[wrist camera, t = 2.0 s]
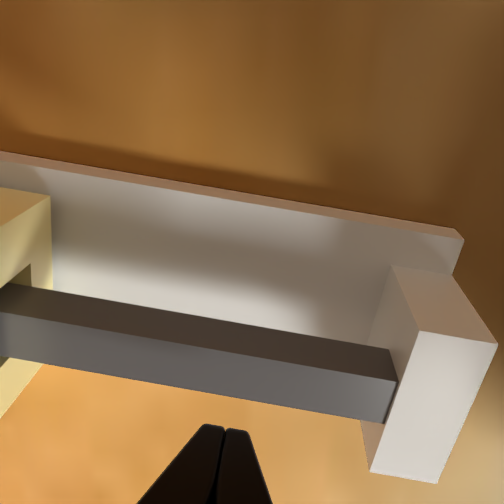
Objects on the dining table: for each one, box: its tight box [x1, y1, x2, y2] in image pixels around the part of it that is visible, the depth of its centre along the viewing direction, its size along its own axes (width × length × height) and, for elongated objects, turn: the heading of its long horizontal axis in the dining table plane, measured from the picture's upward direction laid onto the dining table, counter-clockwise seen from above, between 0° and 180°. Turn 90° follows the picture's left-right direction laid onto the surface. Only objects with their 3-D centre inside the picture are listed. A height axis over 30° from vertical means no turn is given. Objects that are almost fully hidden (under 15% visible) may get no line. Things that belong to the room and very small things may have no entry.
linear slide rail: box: [0, 151, 499, 484], centre depth 12 cm, size 22×6×5 cm, turn 81°
